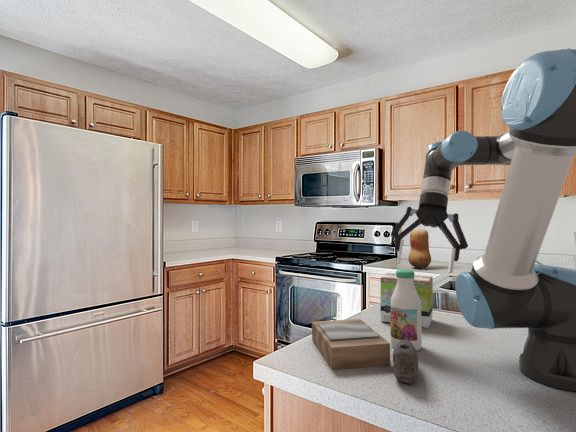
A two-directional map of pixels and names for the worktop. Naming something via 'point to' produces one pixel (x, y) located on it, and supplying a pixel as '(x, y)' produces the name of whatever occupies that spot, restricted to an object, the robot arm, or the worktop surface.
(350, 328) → the walnut stand
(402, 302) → the milk bottle
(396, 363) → the perforated stone tool
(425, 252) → the butternut squash
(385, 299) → the tea box
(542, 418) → the worktop surface
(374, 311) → the worktop surface
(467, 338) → the worktop surface
